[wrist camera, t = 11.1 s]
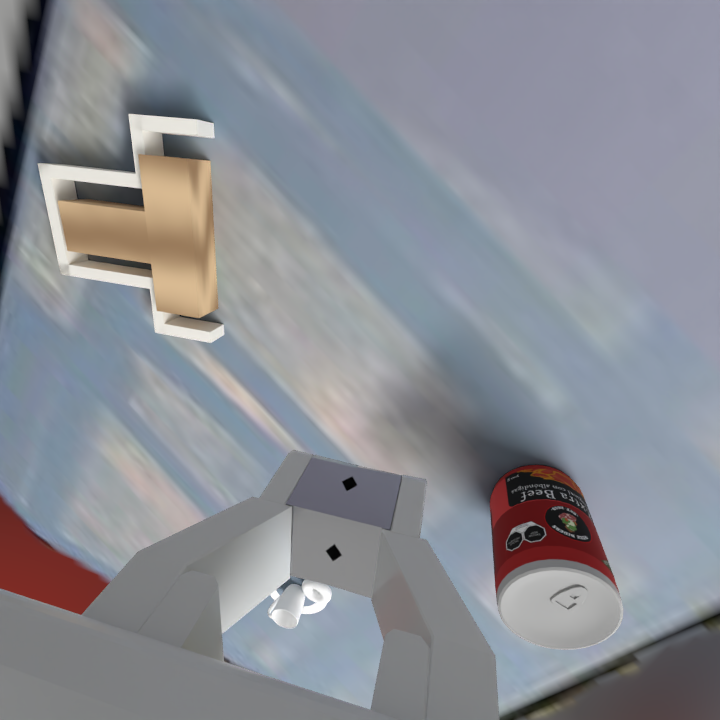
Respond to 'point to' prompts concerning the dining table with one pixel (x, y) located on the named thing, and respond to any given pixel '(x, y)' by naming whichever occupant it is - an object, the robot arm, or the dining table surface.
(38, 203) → the dining table surface
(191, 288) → the t block
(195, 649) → the robot arm
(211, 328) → the t socket
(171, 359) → the dining table surface
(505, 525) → the canned food
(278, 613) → the white looped piece
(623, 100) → the dining table surface
